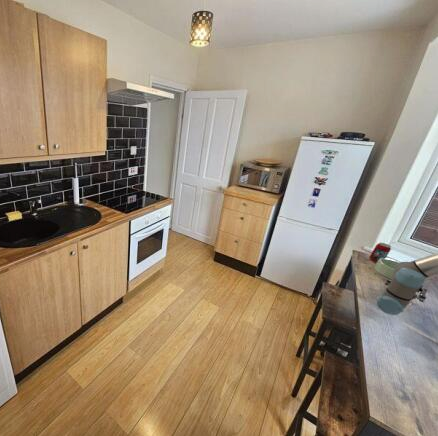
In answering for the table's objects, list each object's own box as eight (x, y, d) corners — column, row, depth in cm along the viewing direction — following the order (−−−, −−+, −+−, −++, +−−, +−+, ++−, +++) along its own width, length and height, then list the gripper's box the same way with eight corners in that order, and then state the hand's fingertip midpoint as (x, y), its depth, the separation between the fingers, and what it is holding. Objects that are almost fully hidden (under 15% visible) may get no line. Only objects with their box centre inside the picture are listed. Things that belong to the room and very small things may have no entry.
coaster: (415, 301, 114) (415, 301, 114) (409, 308, 110) (410, 307, 109) (391, 290, 121) (391, 289, 121) (385, 295, 116) (386, 295, 116)
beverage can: (371, 262, 146) (381, 246, 141) (366, 256, 152) (375, 241, 147) (384, 264, 144) (394, 248, 139) (378, 259, 150) (388, 243, 145)
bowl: (410, 278, 133) (417, 269, 130) (403, 285, 126) (409, 276, 123) (378, 264, 144) (383, 255, 141) (369, 270, 137) (375, 261, 134)
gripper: (372, 290, 110) (388, 276, 122) (420, 314, 98) (433, 297, 109) (380, 277, 107) (396, 265, 119) (431, 301, 94) (443, 284, 106)
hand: (414, 280), depth 114 cm, fingers open, 3 cm apart
